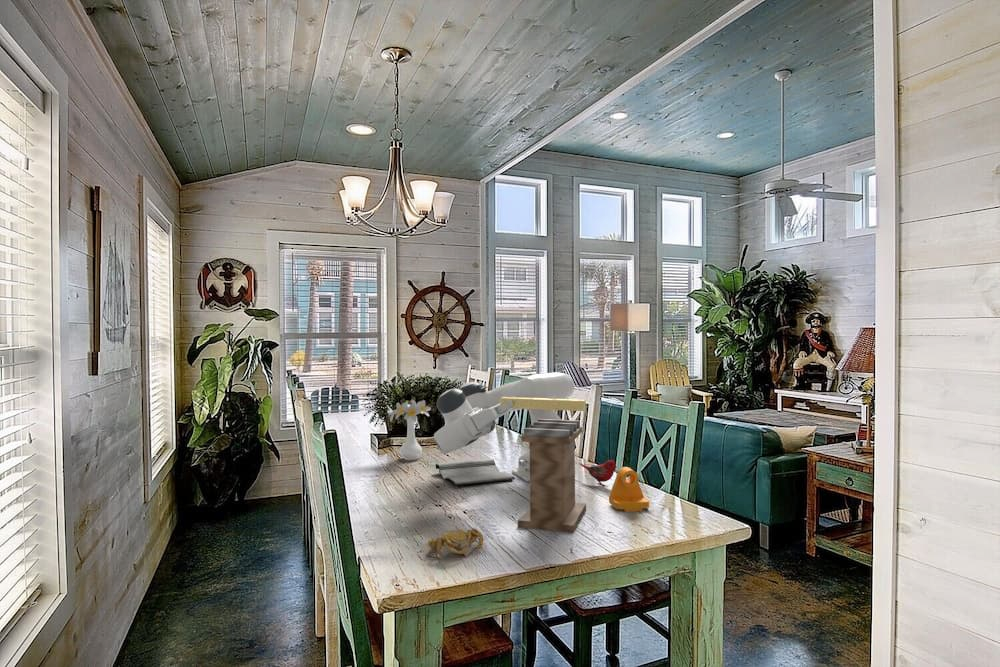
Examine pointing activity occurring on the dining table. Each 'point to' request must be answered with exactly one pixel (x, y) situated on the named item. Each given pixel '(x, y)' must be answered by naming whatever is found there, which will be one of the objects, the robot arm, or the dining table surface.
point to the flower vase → (410, 426)
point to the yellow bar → (545, 403)
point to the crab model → (456, 541)
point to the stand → (552, 476)
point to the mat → (472, 472)
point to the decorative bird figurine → (601, 471)
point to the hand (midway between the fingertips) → (514, 401)
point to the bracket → (627, 492)
